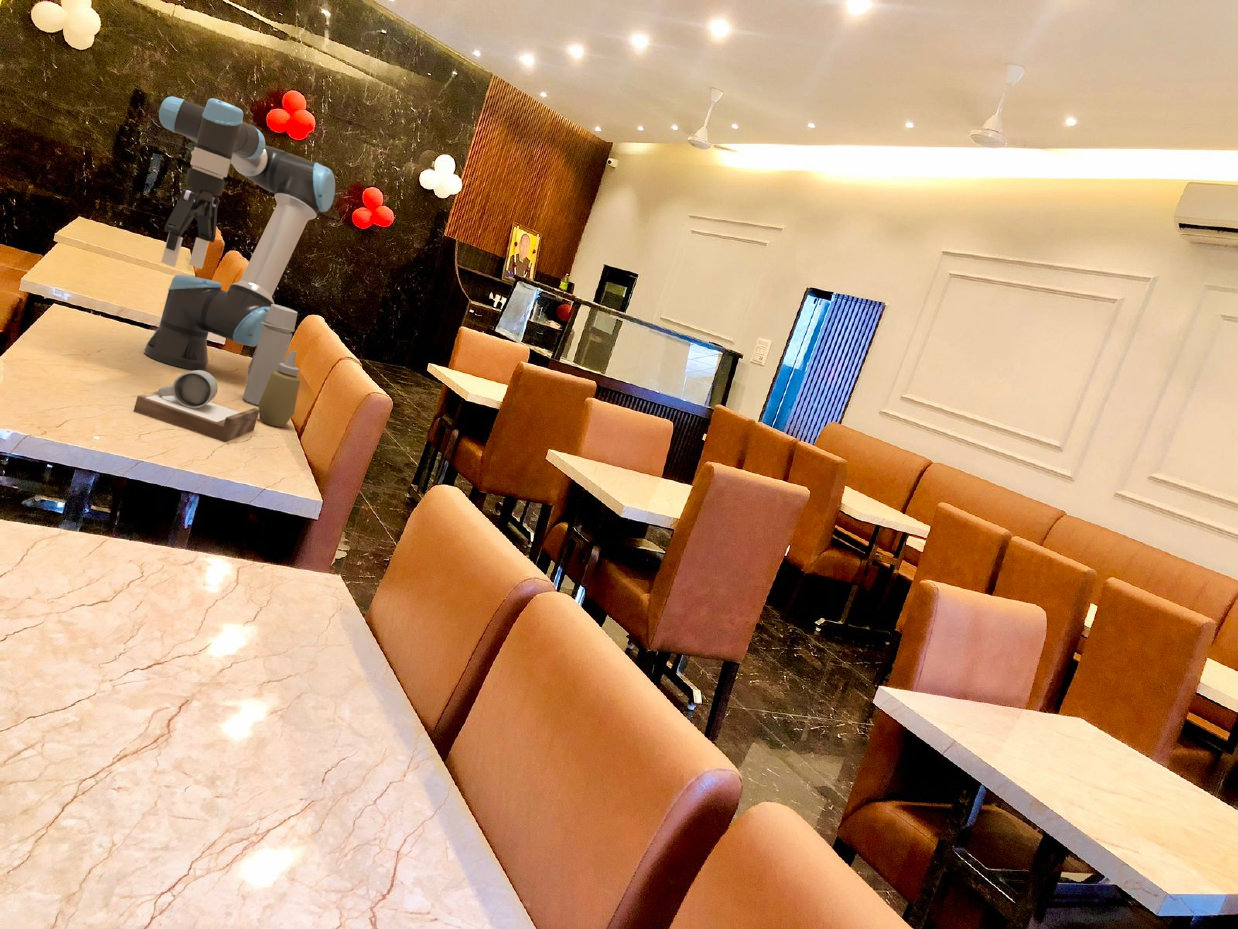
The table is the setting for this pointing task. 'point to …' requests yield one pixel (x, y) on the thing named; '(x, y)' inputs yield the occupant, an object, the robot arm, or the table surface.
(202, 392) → the ceramic mug
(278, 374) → the squeeze bottle
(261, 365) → the water bottle
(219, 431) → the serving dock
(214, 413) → the mat
